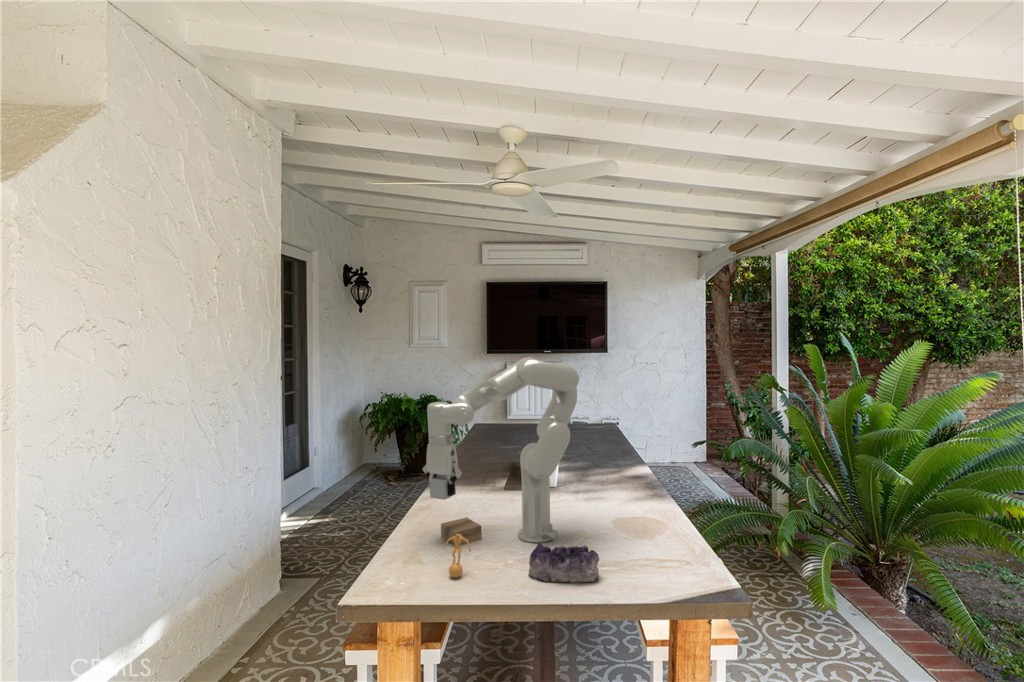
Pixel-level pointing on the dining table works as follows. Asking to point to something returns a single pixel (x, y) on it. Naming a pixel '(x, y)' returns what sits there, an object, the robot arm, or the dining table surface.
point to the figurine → (456, 568)
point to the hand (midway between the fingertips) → (443, 493)
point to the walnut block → (461, 530)
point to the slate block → (439, 487)
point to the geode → (563, 564)
